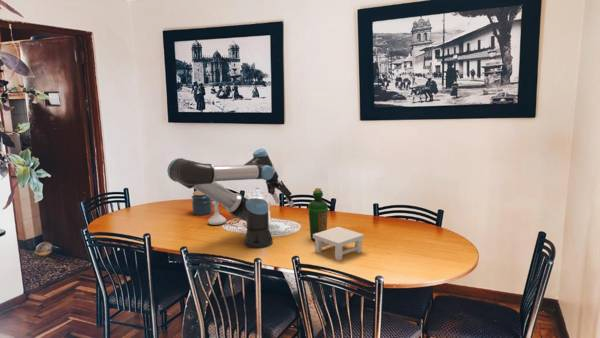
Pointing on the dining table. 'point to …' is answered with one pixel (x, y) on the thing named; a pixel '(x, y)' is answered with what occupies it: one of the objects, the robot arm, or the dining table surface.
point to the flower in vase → (216, 215)
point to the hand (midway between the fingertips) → (285, 204)
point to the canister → (201, 204)
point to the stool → (338, 240)
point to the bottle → (317, 213)
